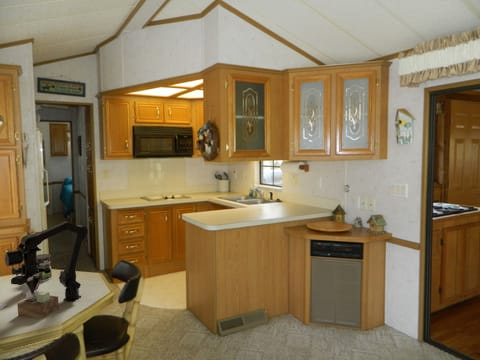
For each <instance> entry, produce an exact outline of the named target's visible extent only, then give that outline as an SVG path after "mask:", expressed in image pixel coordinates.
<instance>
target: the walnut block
mask: <svg viewBox="0 0 480 360" xmlns="http://www.w3.org/2000/svg"><path fill="white" fill-rule="evenodd" d="M59 304H60V303H59V296H57V295H50V300H49V301H47V302H45V303H39V302H37V300H35V301H33V302H32V301H26V299H24V300H22V301H19V302H18V303H17V315H18V316H21V317H26V318H31V319H38V320H41V319H42V318H44V317H46V316H48V315H49V314H51V313H53V312H55V311H56V310H58V309H59V307H60V306H59ZM54 310H55V311H54Z"/></svg>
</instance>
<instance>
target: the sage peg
mask: <svg viewBox="0 0 480 360" xmlns="http://www.w3.org/2000/svg"><path fill="white" fill-rule="evenodd" d="M36 296H37V302H39V303H45V302H47V301H49V300H50V296H51V294H50V291H47V290H42V291H39V293H37V294H36Z"/></svg>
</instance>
